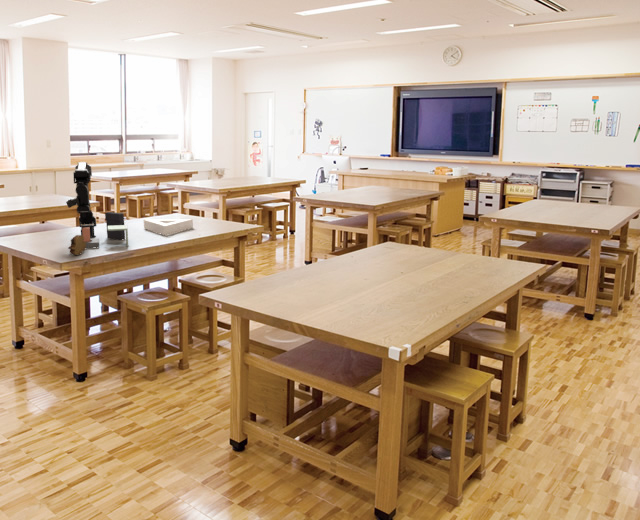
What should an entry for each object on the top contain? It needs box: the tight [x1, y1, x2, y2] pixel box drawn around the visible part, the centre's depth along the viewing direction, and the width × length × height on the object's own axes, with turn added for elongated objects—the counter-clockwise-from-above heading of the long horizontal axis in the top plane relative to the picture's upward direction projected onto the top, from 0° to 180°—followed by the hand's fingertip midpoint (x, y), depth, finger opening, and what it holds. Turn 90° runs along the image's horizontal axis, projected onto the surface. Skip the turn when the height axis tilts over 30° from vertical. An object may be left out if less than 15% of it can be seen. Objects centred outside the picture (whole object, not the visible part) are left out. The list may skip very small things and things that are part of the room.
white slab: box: [143, 218, 194, 236], centre depth 389 cm, size 30×26×6 cm
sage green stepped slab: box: [108, 224, 129, 247], centre depth 340 cm, size 12×10×10 cm
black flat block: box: [104, 211, 126, 241], centre depth 357 cm, size 11×4×15 cm, turn 62°
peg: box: [82, 227, 91, 242], centre depth 335 cm, size 4×4×10 cm
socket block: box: [85, 238, 100, 249], centre depth 336 cm, size 12×12×3 cm
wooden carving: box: [68, 234, 86, 256], centre depth 315 cm, size 16×5×10 cm, turn 3°
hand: (84, 222), depth 338 cm, fingers open, 9 cm apart
